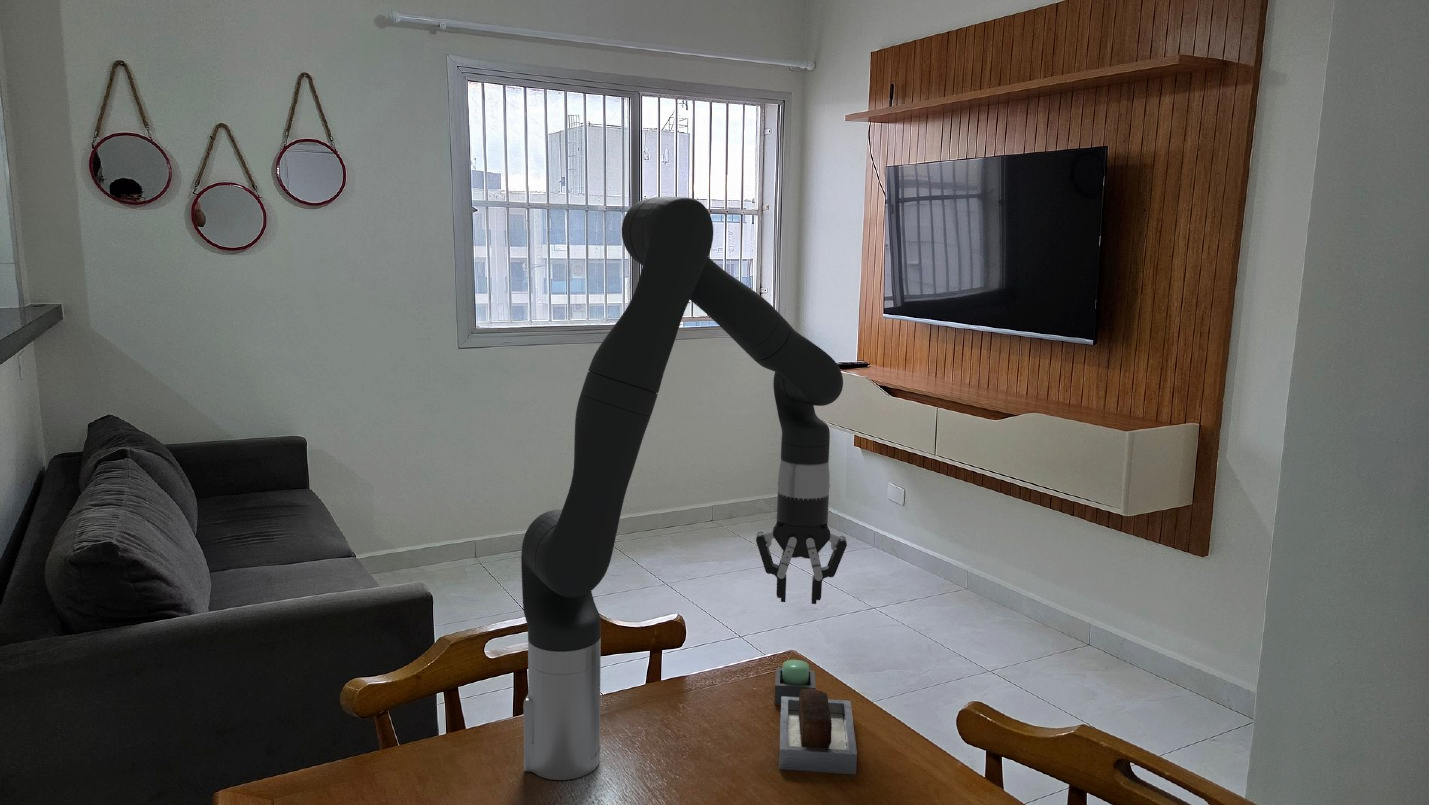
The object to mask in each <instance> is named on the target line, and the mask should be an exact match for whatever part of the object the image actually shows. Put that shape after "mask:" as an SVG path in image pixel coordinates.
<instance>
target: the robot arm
mask: <svg viewBox="0 0 1429 805" xmlns="http://www.w3.org/2000/svg"><path fill="white" fill-rule="evenodd" d="M621 238H622V242H623V245H624V247H625V250H626V251H627V253H628V255H630V257H631V258H632V259H633V260H634V261H636V262H637V263H638V265H639V264H640V265H641V266H642V268H641V271H640V275H639V278H638V281H637V284H636V288H635V291H634V293H633V294H632V297H631V299H630V301H629V304H628V306H627V307H626V308H625V310H624V312H622V315H621V316H620V317H619V319H618V320H617V322H616V323H614V325H613V327H611V329H610V330H609V332H608V333H607V335H606V336H605V337H604V339H603V341H602V342H601V343H600V344H599V347H598V348H597V349H596V352H595V353H594V355H593V357H592V360H591V362H590V364H589V367H588V369H587V370H588V371H587V373H586V376H585V379H584V382H583V384H582V388H581V391H580V394H579V399H578V402H577V406H576V409H575V411H576V412H575V420H574V443H573V444H574V445H573V446H574V450H573V452H574V453H573V457H574V458H573V470H572V478H571V481H570V486H569V489H568V492H567V495H566V498H565V501H564V505H563V507H562V509H553V510H549V511H546V512H543V513H542V514H541V513H540V515H538V516H537V517H536V518H535V519H534V520H532V522H531V523H530V525H528V527H527V530H526V531H525V534H524V536H523V540H522V544H521V558H520V561H521V564H520V565H521V591H522V610H523V614H524V619H525V621H526V626H527V649H528V650H527V657H528V658H527V665H528V666H527V668H528V669H527V673H528V675H527V678H528V682H527V683H528V684H527V685H528V688H527V689H528V690H527V691H528V693H527V695H526V697H525V698H524V700H523V704H522V705H523V706H522V707H523V771H524V772H532V773H533V774H536V775H537V776H538V777H541V778H544V779H547V780H555V781H566V780H573V779H578V778H581V777H584V776H586V775H588V774H590V773H591V772H593V771H594V770H596V768H597V767H598V765H599V764H600V758H601V757H600V756H601V752H600V751H601V647H602V646H601V645H602V644H601V640H602V639H601V635H602V623H601V622H602V621H601V620H602V619H601V614H600V613H599V610H598V608H597V606H596V603H595V600H594V596H593V592H592V591H593V590H594V589H595V588H596V587H597V586H598V585H599V584H600V583H601V581H603V579H604V577H605V576H606V573H607V571H608V570H609V566H610V565H611V560H612V556H613V552H614V549H615V547H614V546H615V542H616V538H617V533H618V528H619V523H620V519H621V518H620V517H621V514H622V509H623V506H624V500H625V498H626V493H627V490H628V485H629V483H630V480H631V477H632V475H633V471H634V468H635V465H636V462H637V459H638V455H639V453H640V452H639V451H640V449H641V445H642V443H643V439H644V437H645V436H644V435H645V433H646V431H647V428H648V425H649V422H650V419H651V417H652V414H653V410H654V408H655V405H656V401H657V400H658V399H657V398H658V393H659V392H660V388H661V385H662V381H663V377H664V374H665V372H666V367H667V364H668V362H669V358H670V355H671V354H672V353H671V352H672V349H673V347H674V344H675V342H676V338H677V335H678V331H679V329H680V326H681V322H682V320H683V318H684V314H685V312H686V309H687V307H688V305H689V303H690V302H691V303H693V304H694V305H695V306H696V307H698V308H699V309H700V310H702V312H704V313H705V314H706V315H707V316H708V317H709V318H710V319H712V321H713V322H715V323H716V324H717V325H718V326H719V327H720V328H721V329H722V330H723V331H725V333H726V334H727V335H729V337H730V338H731V339H732V340H734V342H735V343H736V344H737V345H738V346H739V347H740V348H741V349H742V350H743V351H744V352H745V353H746V354H748V355H749V356H750V358H751V359H752V360H754V362H756V363H757V364H758V365H760V366H761V367H763V368H764V369H767V370H770V371H771V372H772V371H773V372H774V375H773V380H772V381H773V387H772V388H773V393H774V394H773V395H774V400H775V401H774V402H775V406H776V410H777V411H776V412H777V416H778V421H779V424H780V428H781V445H780V463H779V467H778V468H779V469H778V475H777V479H778V480H777V502H776V503H777V504H776V523H775V525H774V527H773V529H772V530H770V531H765V532H763V531H758V532H757V533H756V538H755V541H756V545H757V548H758V551H759V555H760V558H761V561H762V564H763V569H764V570H765V573H766V574H768V575H770V574H771V575H773V576H775V577H776V598H777V599H780V602H781V603H786V601H787V600H786V596H787V571H788V568H789V566H790V564H791V560H792V559H798V558H803V559H809V561H810V565H811V569H812V572H813V575H812V578H811V581H812V583H811V598H810V599H811V605H817V601H820V600H821V599H822V590H823V589H822V588H823V587H822V586H823V581H824V579H826V578H834V577H835V575H836V572H838V568H839V565H840V564H841V560H842V559H843V556H844V553H845V551H846V549H847V546H848V543H847V542H848V541H847V538H846V536H844V535H841V536H840V535H839V536H838V535H837V534H833V533H831V531H830V528H829V527H828V525H829V524H828V523H829V522H828V520H829V519H828V518H829V503H830V502H829V500H830V499H829V498H830V497H829V496H830V488H831V487H830V486H831V484H830V480H831V479H830V478H831V476H830V466H829V465H830V464H829V463H830V462H829V460H830V439H831V437H830V436H831V435H830V434H831V433H830V428H829V425H828V424H827V423H826V422H825V421H823V420H822V419H821V418H819V416H817V413H816V410H815V406H816V407H817V406H818V407H821V406H822V407H823V406H829V405H830V404H832V403H834V402H835V401H836V400H837V399H838V398H840V395H841V394H842V391H843V387H844V378H843V373H842V371H841V368H840V366H839V365H838V364H837V362H836V361H835V359H834V358H832V356H831V355H829V354H828V353H827V352H826V351H824V350H823V349H822V348H821V347H819V346H818V345H817V344H815V343H813V342H812V341H811V340H810V339H808V338H807V337H805V336H803V335H802V334H800V333H799V332H797V331H796V330H795V329H794V328H793V326H792V325H791V324H790V323H789V322H788V321H787V320H786V319H785V318H784V317H783V316H782V315H781V313H780V312H779V311H777V309H776V308H775V307H774V306H773V305H772V304H771V303H770V302H769V301H768V300H766V298H764V297H763V296H761V295H760V294H759V293H757V291H755V290H753V289H752V288H750V287H749V286H748V285H747V284H745V283H743V282H742V281H740V280H739V279H737V278H735V277H734V276H733V275H731V274H730V273H728V272H727V271H726V270H724V269H723V268H722V267H721V266H719V265H718V264H717V263H716V262H714V260H712V259H711V258H710V257H709V256H710V253H711V251H712V250H711V249H712V246H713V241H714V240H713V239H714V224H713V219H712V216H711V214H710V212H709V209H707V207H706V206H705V205H704V204H703V203H702V202H701V201H699V200H698V199H695V198H692V197H687V196H656V197H654V196H653V197H651V198H650V197H649V198H645V199H641V200H639V201H637V202H636V203H634V204H633V205H632V206H631V207H630V208H629V209H628V210H627V211H626V213H625V215H624V218H623V220H622V224H621ZM773 539H774V540H775V541H776V542H777V544H778V545H779V547H780V548H781V550H782V553H781V556H780V561H779V563H778V564H776V563H774V561H773V557H772V554H771V550H770V547H772V540H773ZM828 542H829V543H830V550H832V553H831V555H830V558H829V560H828V563H827V566H822V564H821V559H820V555H819V553H820V552H821V551H822V549H823V548H824V547H825V546H826V544H827V543H828Z"/></svg>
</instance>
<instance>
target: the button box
mask: <svg viewBox="0 0 1429 805" xmlns="http://www.w3.org/2000/svg"><path fill="white" fill-rule="evenodd" d="M782 668H783V667H782ZM782 668H779V667H776V668H775V678H774V679H775V680H774V683H775V684H774V705H779V706H781V696H785V697H799V696H800V690H801V689H816V687H817V686H816V672H815V670H816V669H815V670H813V669H809V680H808V684H807V685H795V684H784V683H783V682H782ZM816 690H817V689H816Z"/></svg>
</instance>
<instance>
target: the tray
mask: <svg viewBox="0 0 1429 805" xmlns="http://www.w3.org/2000/svg"><path fill="white" fill-rule="evenodd" d="M828 703H829V709H830V716H831V721H832V731H831V744H830V745H829V749H826V748H812V747H802V746H801V735H800V725H799V697H785V696H781V705H780V720H779V721H780V724H779V727H780V728H779V750H778V752H779V753H778V754H779V755H778V770H784V771H785V770H787V771H788V770H789V771H799V772H813V773H815V772H816V773H828V774H829V773H830V774H841V775H842V774H844V775H854V776H856V775H857V762H858V761H857V760H858V751H857V744H856V736H855V735H856V734H855V727H854V719H853V712H852V711H853V710H852V702H851V700H842V699H830V698H829V699H828Z"/></svg>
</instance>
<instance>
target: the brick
mask: <svg viewBox="0 0 1429 805" xmlns="http://www.w3.org/2000/svg"><path fill="white" fill-rule="evenodd" d="M799 725H800V735H801V746H802V747H812V748H826V749H829V745H830V744H831V731H832V721H831V716H830V709H829V703H828V693H826V691H822V690H818V689H801V690H800V696H799Z"/></svg>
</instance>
